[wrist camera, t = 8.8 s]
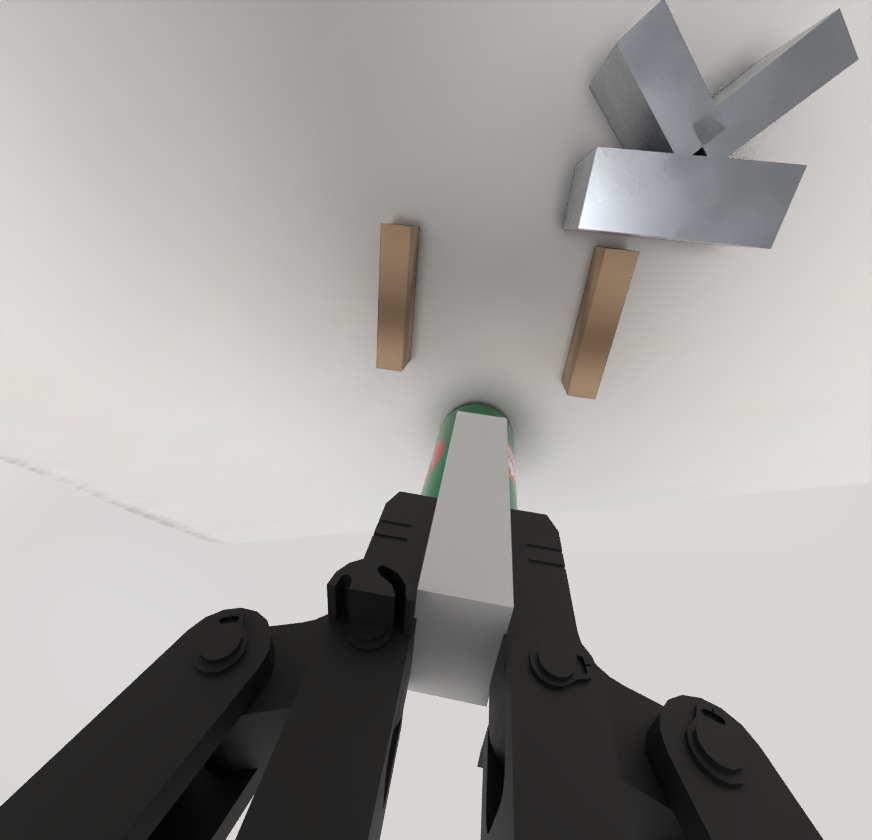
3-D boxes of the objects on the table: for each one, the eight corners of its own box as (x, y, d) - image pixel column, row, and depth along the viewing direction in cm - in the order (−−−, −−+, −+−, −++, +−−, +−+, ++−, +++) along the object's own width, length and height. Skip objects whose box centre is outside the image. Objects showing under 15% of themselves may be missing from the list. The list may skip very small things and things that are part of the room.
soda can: (527, 434, 28) (545, 563, 17) (477, 476, 30) (464, 615, 19) (475, 386, 27) (458, 491, 16) (426, 432, 29) (383, 553, 18)
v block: (596, 52, 19) (626, -4, 14) (785, 65, 18) (880, 10, 13) (559, 228, 22) (574, 227, 17) (716, 245, 21) (775, 249, 17)
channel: (392, 224, 23) (381, 223, 21) (625, 249, 22) (639, 252, 20) (386, 356, 27) (376, 367, 24) (586, 384, 25) (595, 399, 23)
